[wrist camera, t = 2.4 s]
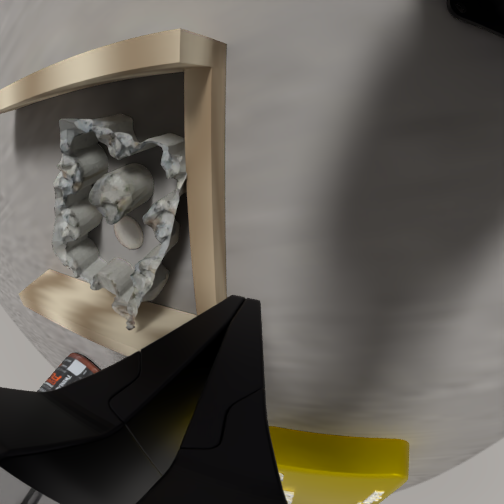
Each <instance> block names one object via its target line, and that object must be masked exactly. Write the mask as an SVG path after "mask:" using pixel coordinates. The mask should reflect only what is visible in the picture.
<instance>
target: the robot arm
mask: <svg viewBox="0 0 504 504" xmlns="http://www.w3.org/2000/svg"><path fill="white" fill-rule="evenodd" d="M455 5H459V6H460V7H461V8H462V9H463V13H461V12H460V11H458V10H457V8H456V6H455ZM447 7H448V10H449V12H450V13H451V14H452V15H453V16H454V17H455V18H457V19H459V20H462V21H465V22H467V23H470V24H473V25H475V26H478V27H480V28H482V29H485V30H487V31H489V32H492V33H494V34H496V35H498V36H500V37H503V38H504V0H447ZM0 504H288V502H287V500H286V497H285V494H284V490H283V487H282V483H281V479H280V475H279V471H278V467H277V462H276V458H275V454H274V449H273V445H272V441H271V436H270V431H269V425H268V420H267V410H266V398H265V380H264V361H263V341H262V322H261V304H260V301H259V300H255V299H250V298H247V299H245V298H244V297H241V296H236V295H231V296H229V297H228V298H226V299H224V300H223V301H221V302H219V303H218V304H216V305H214V306H213V307H211V308H210V309H208V310H206V311H205V312H203V313H201V314H200V315H198V316H196V317H195V318H193V319H191V320H190V321H188V322H186V323H185V324H183V325H181V326H180V327H178V328H176V329H174V330H173V331H171V332H169V333H168V334H166V335H164V336H163V337H161V338H159V339H158V340H156V341H154V342H152V343H151V344H149V345H147V346H146V347H144V348H142V349H141V351H137V352H135V353H133V354H132V355H130V356H128V357H126V358H124V359H123V360H121V361H119V362H117V363H115V364H113V365H111V366H109V367H107V368H105V369H103V370H101V371H98V372H96V373H94V374H92V375H89V376H87V377H85V378H82V379H80V380H78V381H75V382H73V383H70V384H68V385H66V386H63V387H61V388H58V389H55V390H51V391H45V392H33V391H24V390H16V389H9V388H2V387H0Z"/></svg>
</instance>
